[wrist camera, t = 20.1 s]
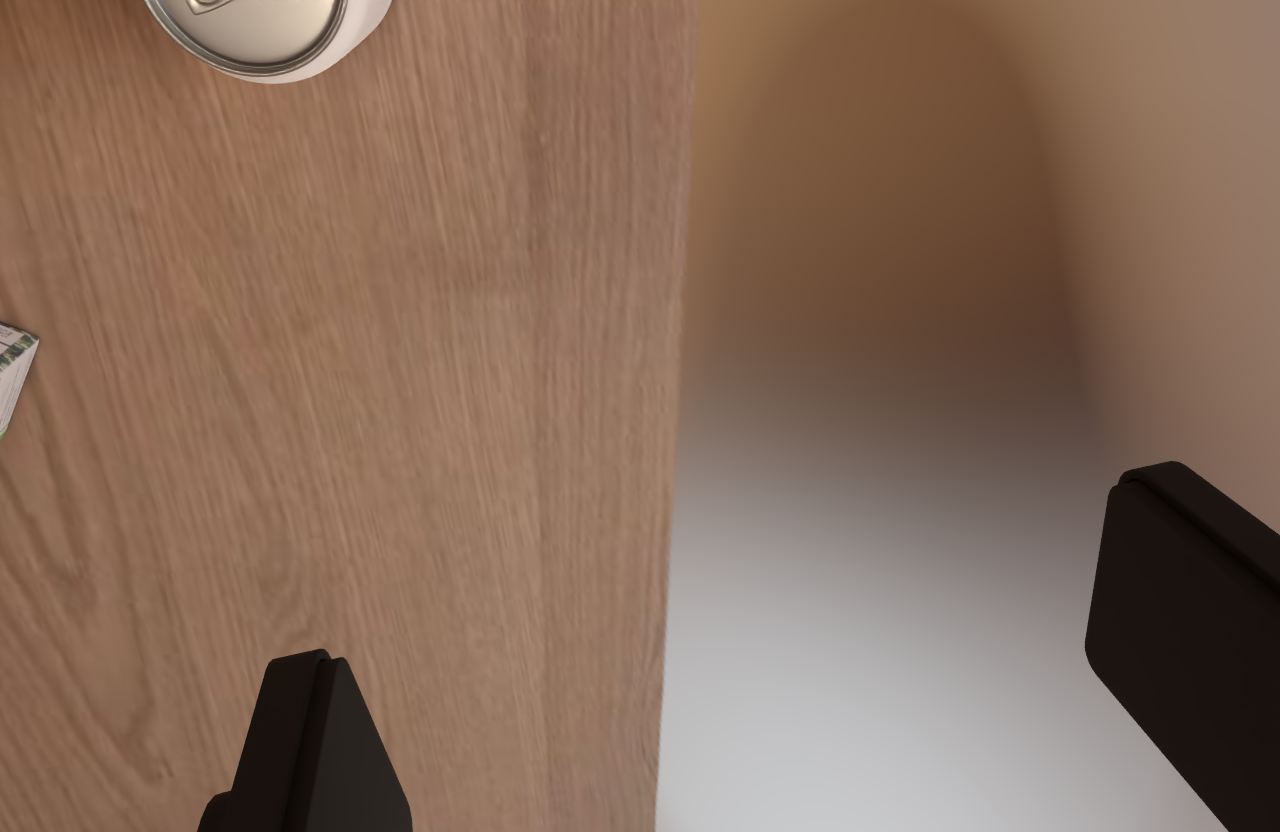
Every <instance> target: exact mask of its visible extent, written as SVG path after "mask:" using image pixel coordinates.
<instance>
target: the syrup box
mask: <svg viewBox="0 0 1280 832" xmlns="http://www.w3.org/2000/svg"><path fill="white" fill-rule="evenodd" d="M38 343H39V338H38V337H36V336H33V335H31V334H29V333H26V332H24V331H21V330H19V329H17V328H14V327H11V326H9V325H6V324H3V323H1V322H0V439H1V438H2V437H3V436H4V434H5V431H6V429H7V427H8V424H9V421H10V419H11V416H12V413H13V410H14V407H15V405H16V402H17V399H18V396H19V394H20V391H21V388H22V386H23V383H24V380H25V378H26V375H27V373H28V370H29V367H30V365H31V362H32V360H33V357H34V354H35V352H36V349H37V346H38Z"/></svg>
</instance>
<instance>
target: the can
mask: <svg viewBox="0 0 1280 832" xmlns="http://www.w3.org/2000/svg"><path fill="white" fill-rule="evenodd" d="M143 1H144V3H145V5H146V7H147V8H148V10H149V11H150V13H151V14H152V16H153V17H154V19H155V20H156V21H157V23H158V24H159V25H160V26H161V28H162V29H163V30H164V31H165V32H166V33H167V34H168V35H169V36H170V37H171V38H172V39H173V40H174V41H175V42H176V43H177V44H178V45H180V46H181V47H182V48H183V49H185V50H186V51H187V52H189V53H190V54H191V55H193V56H194V57H196V58H198V59H199V60H201V61H203V62H204V63H206V64H207V65H209V66H211V67H213V68H214V69H216V70H218V71H221V72H223V73H225V74H227V75H230V76H233V77H236V78H239V79H242V80H246V81H251V82H257V83H267V84H279V83H289V82H295V81H299V80H303V79H306V78H309V77H312V76H314V75H316V74H319V73H321V72H322V71H324V70H326V69H328V68H329V67H331V66H332V65H334V64H335V63H336V62H338V61H339V60H340V59H341V58H343V57H344V56H345V55H346V54H348V53H349V52H350V51H351V50H352V49H353V48H355V47H356V46H357V45H358V44H359V43H360V42H361V41H363V40H364V39H365V38H366V37H367V36H368V35H369V34H370V33H371V32H372V31H373V30H374V29H375V28H376V27H377V26H378V25H379V23H380V22H381V21H382V19H383V18H384V16H385V14H386V13H387V11H388V9H389V7H390V4H391V2H392V0H143Z"/></svg>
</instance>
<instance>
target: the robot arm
mask: <svg viewBox="0 0 1280 832" xmlns="http://www.w3.org/2000/svg"><path fill="white" fill-rule="evenodd" d="M1085 651H1086V656H1087V658H1088V661H1089V664H1090V666H1091V668H1092V669H1093V671H1094V672H1095V674H1096V675H1097V676H1098V677H1099V678H1100V680H1101V681H1102V682H1103V683H1104V684H1105V686H1106V687H1107V688H1108V689H1109V690H1110V692H1111V693H1112V694H1113V695H1114V696H1115V697H1116V699H1117V700H1118V701H1119V702H1120V703H1121V705H1122V706H1123V707H1124V708H1125V709H1126V711H1127V712H1128V713H1129V714H1130V715H1131V716H1132V717H1133V719H1134V720H1135V721H1136V722H1137V724H1138V725H1139V726H1140V727H1141V728H1142V729H1143V731H1144V732H1145V733H1146V734H1147V735H1148V737H1149V738H1150V739H1151V740H1152V741H1153V743H1155V745H1156V746H1157V747H1158V748H1159V750H1160V751H1161V752H1162V753H1163V754H1164V756H1165V757H1166V758H1167V759H1168V760H1169V761H1170V763H1171V764H1172V765H1173V766H1174V767H1175V769H1176V770H1177V771H1178V772H1179V773H1180V775H1181V776H1182V777H1183V778H1184V779H1185V780H1186V781H1187V783H1188V784H1189V785H1190V786H1191V788H1192V789H1193V790H1194V791H1195V792H1196V793H1197V794H1198V796H1199V797H1200V798H1201V799H1202V801H1203V802H1204V803H1205V804H1206V805H1207V807H1208V808H1209V809H1210V810H1211V811H1212V812H1213V814H1214V815H1215V816H1216V817H1217V818H1218V819H1219V821H1220V822H1221V823H1222V824H1223V825H1224V827H1225V828H1226V829H1227V830H1228V831H1229V832H1280V535H1279V534H1277V533H1276V532H1275V531H1273V530H1272V529H1271V528H1269V527H1268V526H1267V525H1265V524H1264V523H1263V522H1261V521H1260V520H1259V519H1257V518H1256V517H1255V516H1253V515H1252V514H1250V513H1249V512H1248V511H1246V510H1245V509H1244V508H1242V507H1241V506H1240V505H1238V504H1237V503H1235V502H1234V501H1233V500H1231V499H1230V498H1229V497H1228V496H1226V495H1225V494H1223V493H1222V492H1221V491H1219V490H1218V489H1217V488H1215V487H1214V486H1213V485H1211V484H1210V483H1209V482H1207V481H1206V480H1205V479H1203V478H1202V477H1201V476H1199V475H1198V474H1196V473H1195V472H1194V471H1192V470H1191V469H1190V468H1188V467H1187V466H1185V465H1184V464H1182V463H1180V462H1175V461H1169V462H1164V463H1159V464H1155V465H1151V466H1146V467H1141V468H1137V469H1132V470H1129V471H1126V472H1124V473H1123V474H1122V476H1121V477H1120V479H1119V482H1118V485H1116V486H1114V487H1112V489H1111V490H1110V492H1109V495H1108V501H1107V507H1106V514H1105V519H1104V525H1103V532H1102V538H1101V545H1100V551H1099V557H1098V563H1097V569H1096V576H1095V582H1094V589H1093V595H1092V601H1091V607H1090V613H1089V620H1088V626H1087V632H1086V638H1085ZM197 832H413V828H412V818H411V812H410V807H409V804H408V801H407V799H406V797H405V794H404V792H403V790H402V787H401V785H400V783H399V780H398V778H397V776H396V773H395V771H394V769H393V766H392V764H391V762H390V759H389V757H388V755H387V752H386V750H385V748H384V745H383V743H382V741H381V738H380V736H379V734H378V731H377V729H376V727H375V724H374V722H373V720H372V717H371V715H370V713H369V710H368V708H367V706H366V703H365V701H364V699H363V696H362V694H361V692H360V689H359V687H358V685H357V682H356V680H355V678H354V675H353V673H352V671H351V668H350V666H349V664H348V662H347V660H346V659H345V658H344V657H340V658H335V659H331V657H330V655H329V654H328V652H327V651H326V650H325V649H317V650H312V651H308V652H303V653H299V654H294V655H290V656H285V657H280V658H276V659H273V660H272V661H270V662H269V664H268V666H267V669H266V671H265V675H264V678H263V682H262V685H261V689H260V692H259V696H258V699H257V702H256V706H255V709H254V713H253V716H252V720H251V723H250V727H249V730H248V734H247V737H246V741H245V744H244V748H243V751H242V755H241V758H240V762H239V765H238V769H237V772H236V775H235V779H234V782H233V786H232V789H231V791H228V792H223V793H220V794H217V795H215V796H214V797H213V798H212V799H211V801H210V802H209V803H208V804H207V806H206V809H205V811H204V813H203V816H202V818H201V821H200V824H199V827H198V830H197Z"/></svg>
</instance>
